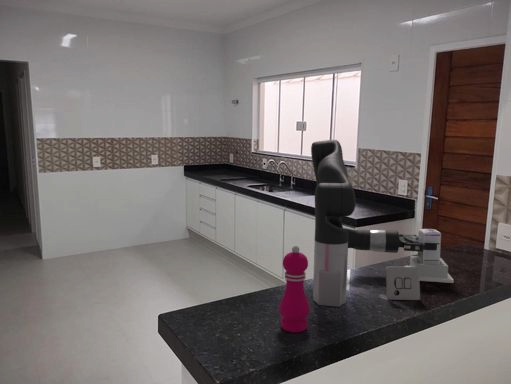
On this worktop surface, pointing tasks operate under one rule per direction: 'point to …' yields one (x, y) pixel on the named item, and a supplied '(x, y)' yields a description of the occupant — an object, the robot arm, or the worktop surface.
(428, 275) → the socket plate
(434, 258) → the syrup box
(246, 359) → the worktop surface
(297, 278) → the pepper mill
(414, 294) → the electrical switch
